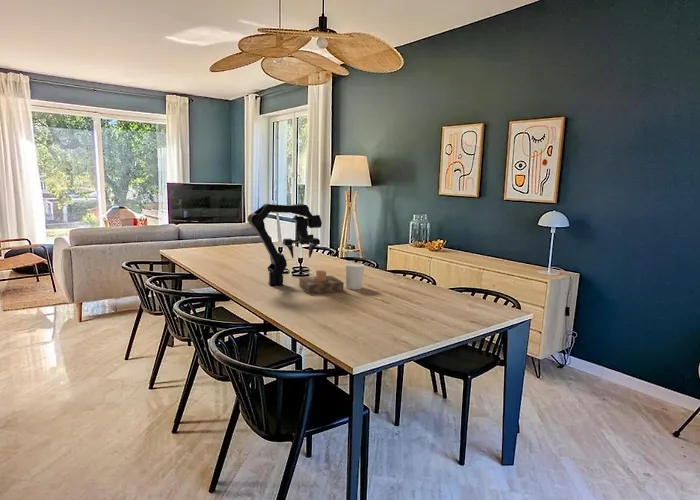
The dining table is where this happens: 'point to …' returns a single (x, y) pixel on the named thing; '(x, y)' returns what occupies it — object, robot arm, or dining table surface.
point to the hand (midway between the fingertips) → (301, 257)
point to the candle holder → (354, 275)
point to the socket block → (321, 285)
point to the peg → (320, 275)
